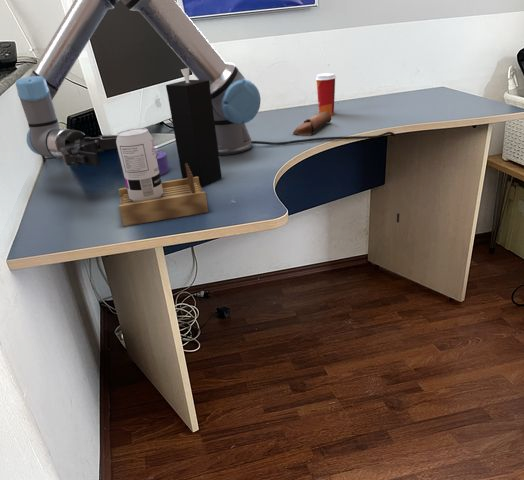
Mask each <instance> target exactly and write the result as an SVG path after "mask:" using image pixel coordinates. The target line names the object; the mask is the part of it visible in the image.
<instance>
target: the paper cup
mask: <svg viewBox="0 0 524 480" xmlns="http://www.w3.org/2000/svg"><path fill="white" fill-rule="evenodd" d="M336 79H337V77H336V74H335V73H334V72H324V73H318V74H316V78H315V81H316V93H317V104H318V105H317V106H318V113H321V112H328V113H329V114H330V115H331V116H333V115H334V113H335V99H336V98H335V95H336Z"/></svg>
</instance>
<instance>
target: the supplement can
mask: <svg viewBox="0 0 524 480" xmlns="http://www.w3.org/2000/svg"><path fill="white" fill-rule="evenodd" d="M116 135H117V139H116V144H117V148H116V149H117V152H118V157H119V161H120V165H121V169H122V174H123V177H124V181H125V186H126V188H127V190H128V194H129V198H130V199H131V200H132V201H134V202H142V201H148V200H155V199H159V198H160V197H161V195H162V194H163V188H162V183H161V182H162V178H161V176H160V173H159V168H158V163H157V158H156V153H155V151H156V148H155V143H154V138H153V135H152V134H151V132H150V131H149V129H148V128H146V127H145V128H143V127H142V128H139V127H138V128H130V129H124V130H121V131H119V132H117V134H116Z"/></svg>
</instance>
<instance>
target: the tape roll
mask: <svg viewBox="0 0 524 480" xmlns="http://www.w3.org/2000/svg"><path fill="white" fill-rule="evenodd" d="M155 153H156V158H157V163H158V168H159V173H160V177H161V176H164V175H166V174H167V173H169V172H170V170H169V163H168V158H167V152H165V151H161V150H155Z"/></svg>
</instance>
